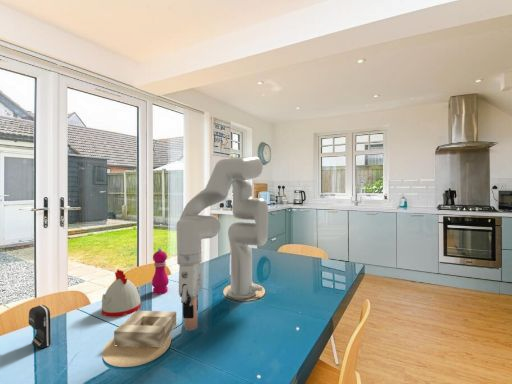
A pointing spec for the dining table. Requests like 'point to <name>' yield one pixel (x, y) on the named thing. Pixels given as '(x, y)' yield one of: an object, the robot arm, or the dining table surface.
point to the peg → (192, 322)
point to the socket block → (145, 329)
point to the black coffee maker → (40, 325)
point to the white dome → (120, 297)
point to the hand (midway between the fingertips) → (190, 313)
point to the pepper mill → (160, 273)
